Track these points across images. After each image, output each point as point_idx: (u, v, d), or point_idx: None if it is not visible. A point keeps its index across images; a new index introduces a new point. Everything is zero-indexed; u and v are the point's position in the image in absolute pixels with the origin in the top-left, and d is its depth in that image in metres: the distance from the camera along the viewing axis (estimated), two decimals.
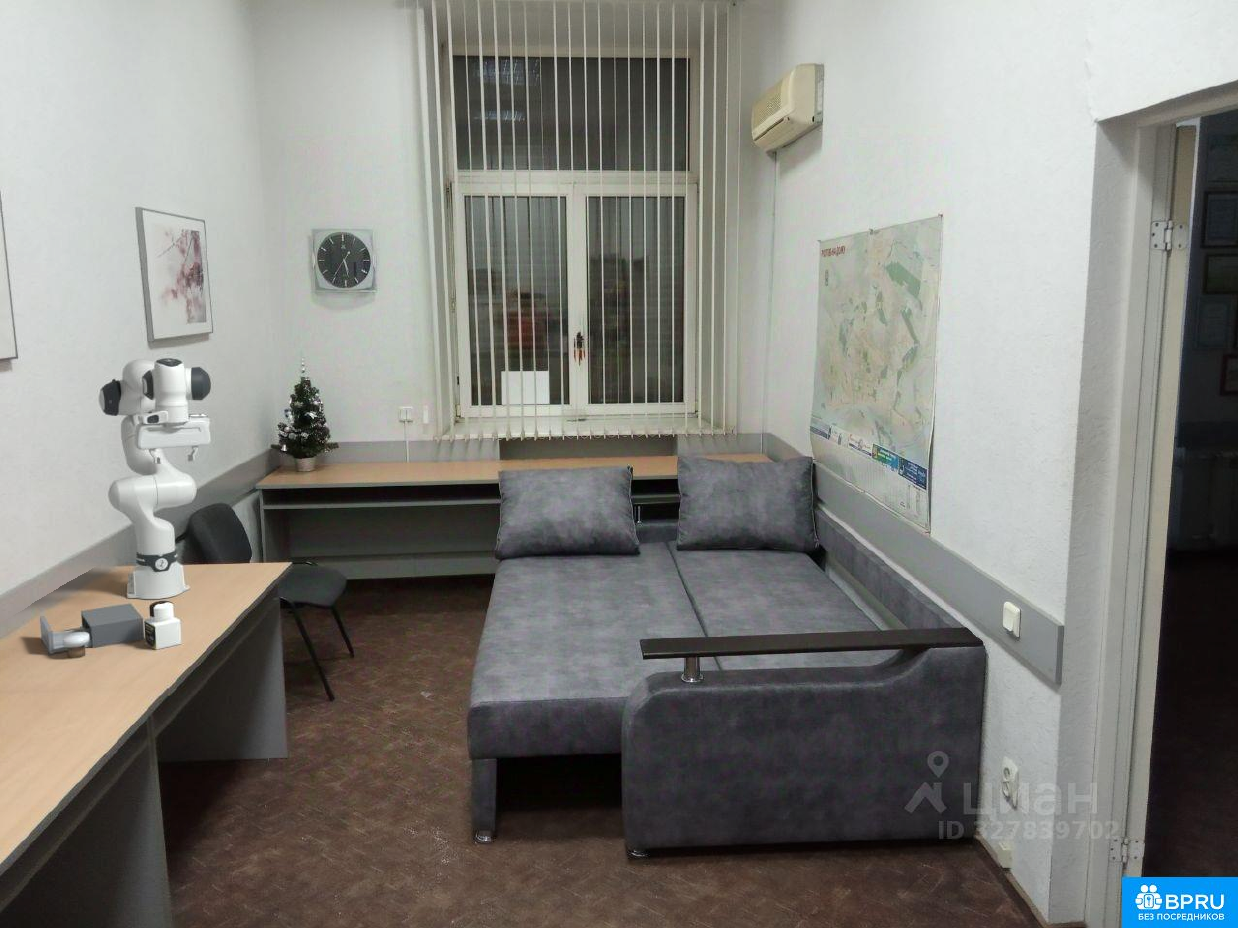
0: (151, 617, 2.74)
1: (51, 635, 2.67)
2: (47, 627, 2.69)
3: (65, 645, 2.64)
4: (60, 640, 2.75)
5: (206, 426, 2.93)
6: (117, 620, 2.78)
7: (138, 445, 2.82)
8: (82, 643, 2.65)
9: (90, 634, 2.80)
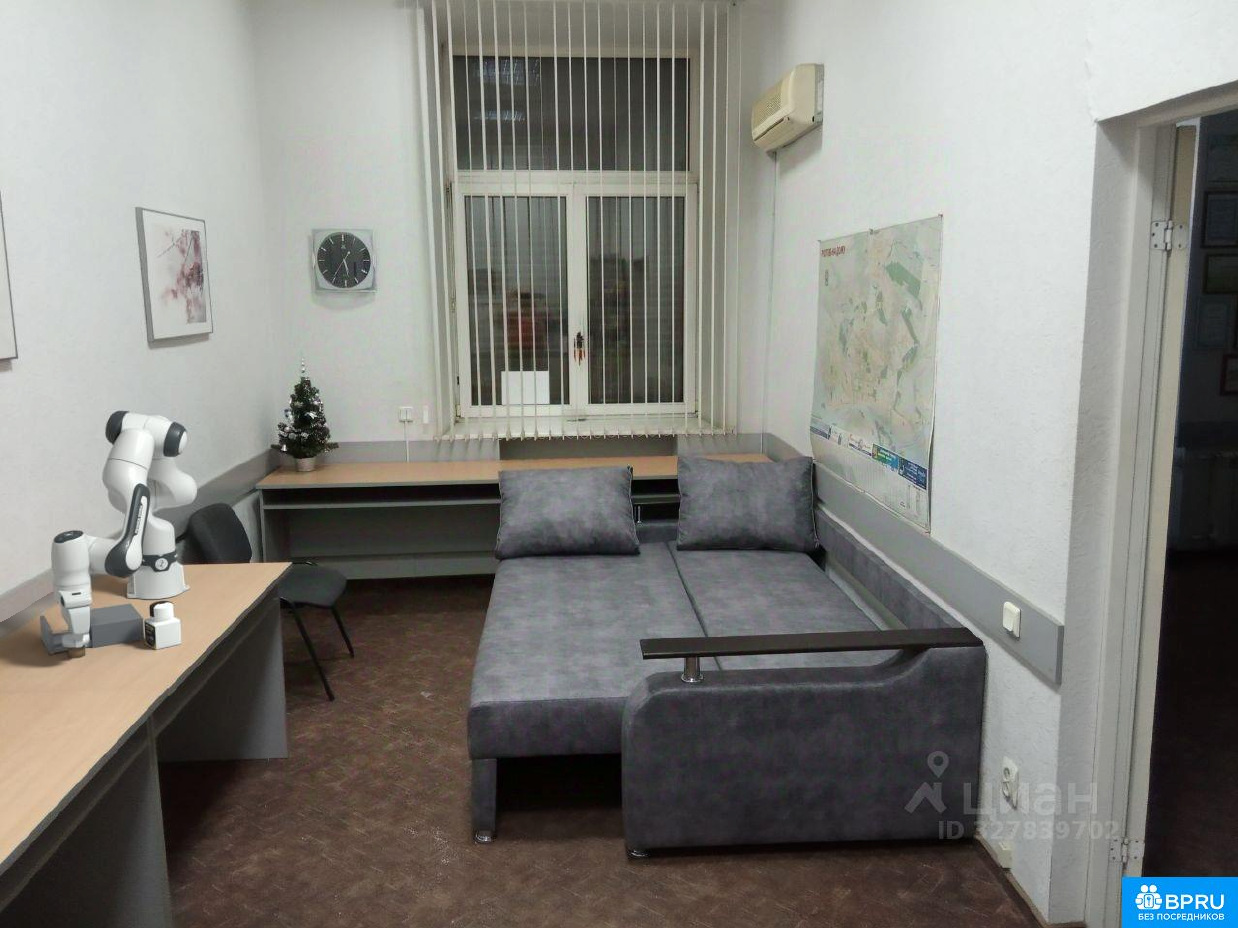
0: (151, 617, 2.74)
1: (51, 635, 2.67)
2: (47, 627, 2.69)
3: (65, 645, 2.64)
4: (60, 640, 2.75)
5: None
6: (117, 620, 2.78)
7: (88, 629, 2.59)
8: None
9: (90, 634, 2.80)
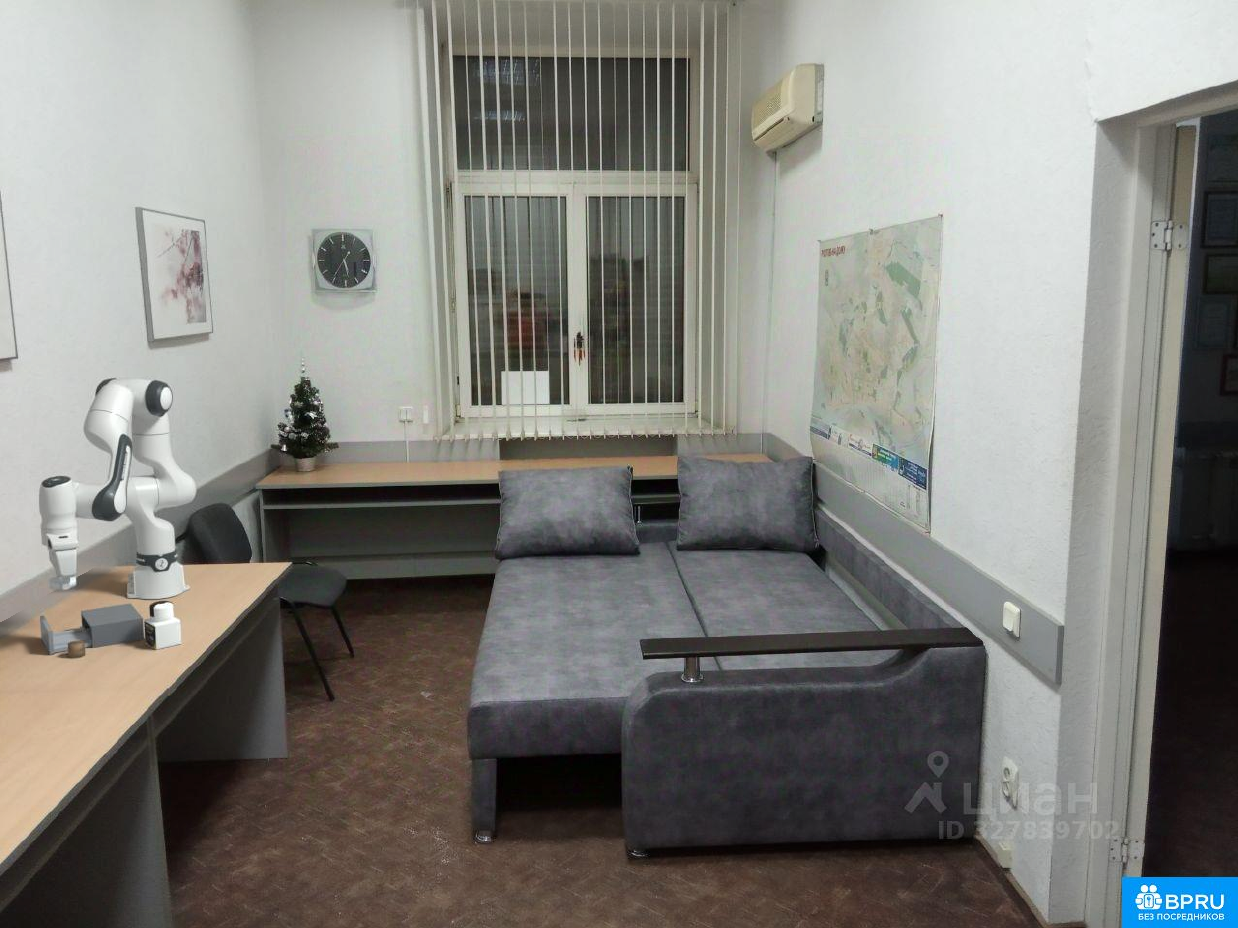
0: (151, 617, 2.74)
1: (51, 635, 2.67)
2: (47, 627, 2.69)
3: (52, 587, 2.71)
4: (60, 640, 2.75)
5: None
6: (117, 620, 2.78)
7: (75, 572, 2.66)
8: None
9: (90, 634, 2.80)
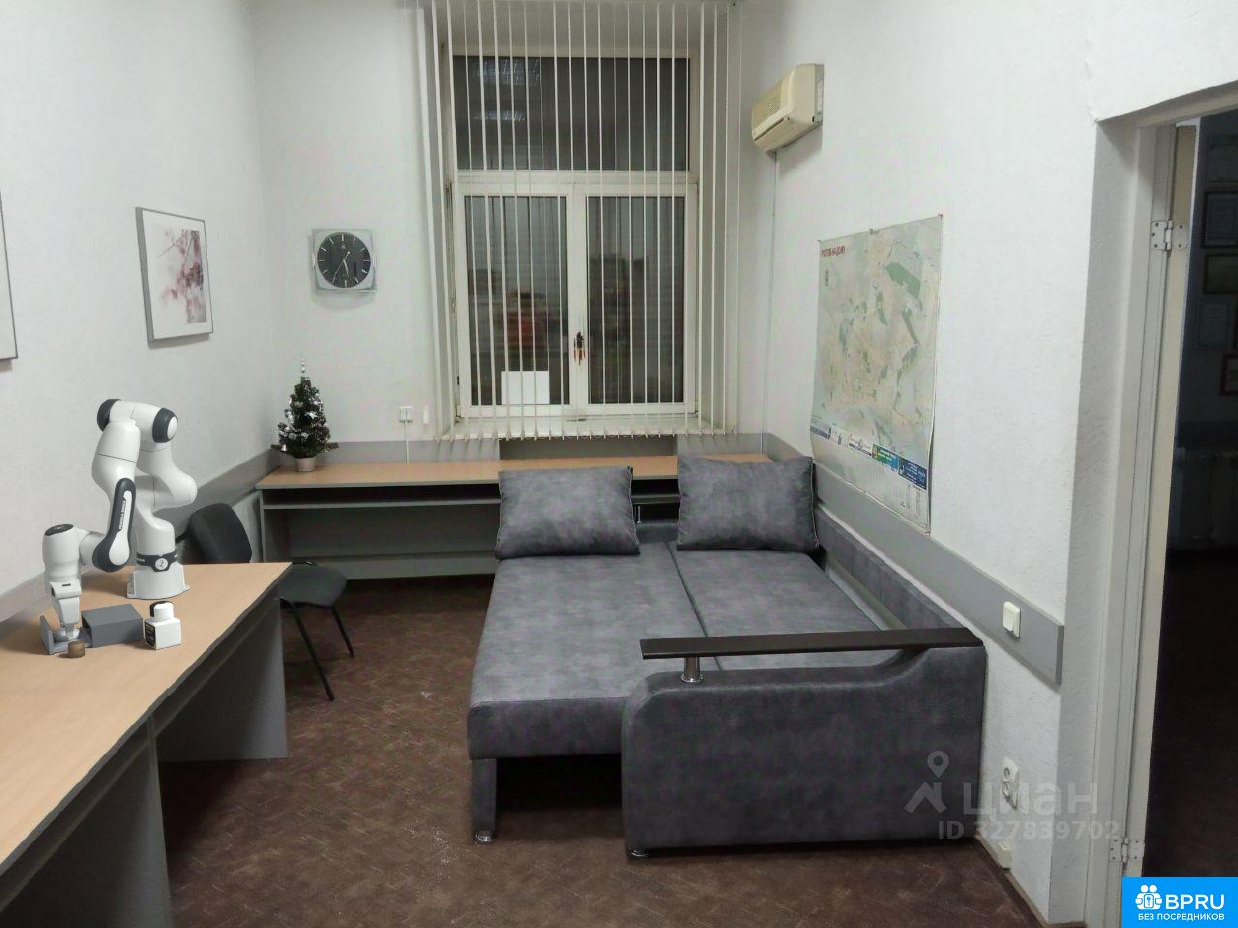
0: (151, 617, 2.74)
1: (51, 635, 2.67)
2: (47, 627, 2.69)
3: (56, 641, 2.73)
4: None
5: None
6: (117, 620, 2.78)
7: (78, 619, 2.69)
8: (72, 639, 2.75)
9: (90, 634, 2.80)
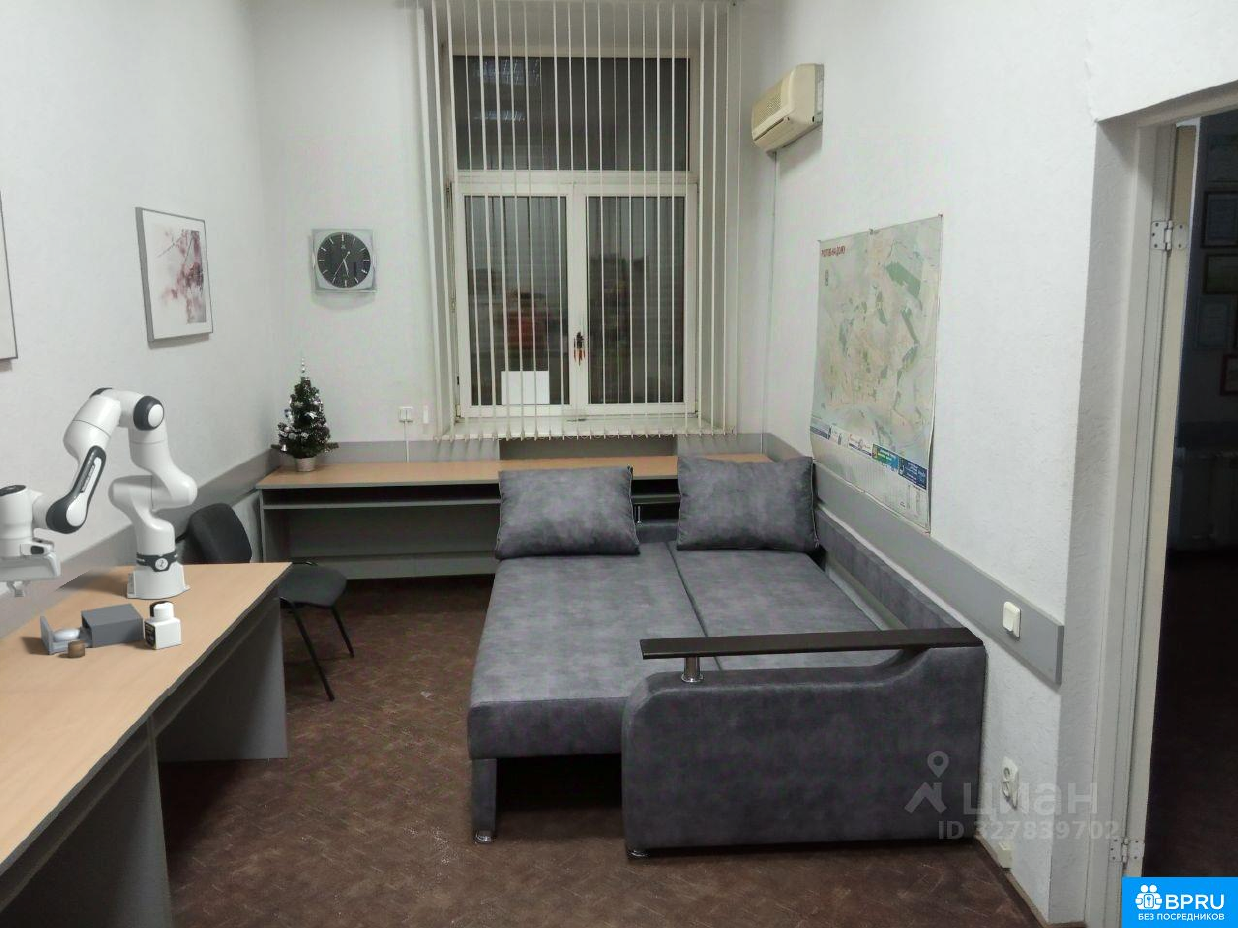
0: (151, 617, 2.74)
1: (51, 635, 2.67)
2: (47, 627, 2.69)
3: (56, 641, 2.73)
4: None
5: None
6: (117, 620, 2.78)
7: None
8: (72, 639, 2.74)
9: (90, 634, 2.80)
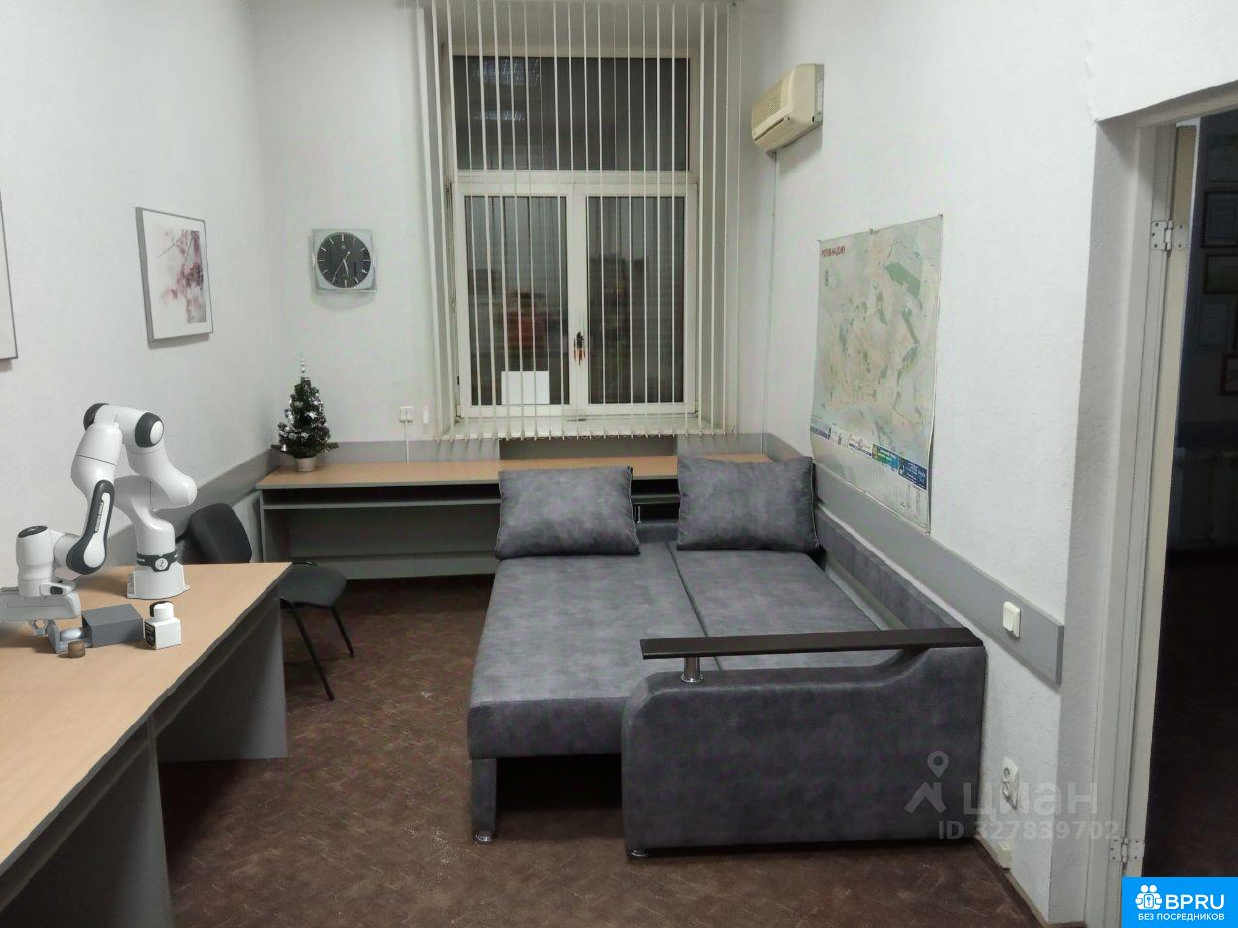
0: (151, 617, 2.74)
1: (58, 634, 2.68)
2: (54, 626, 2.70)
3: (62, 640, 2.74)
4: None
5: None
6: (117, 620, 2.78)
7: None
8: (78, 638, 2.75)
9: None
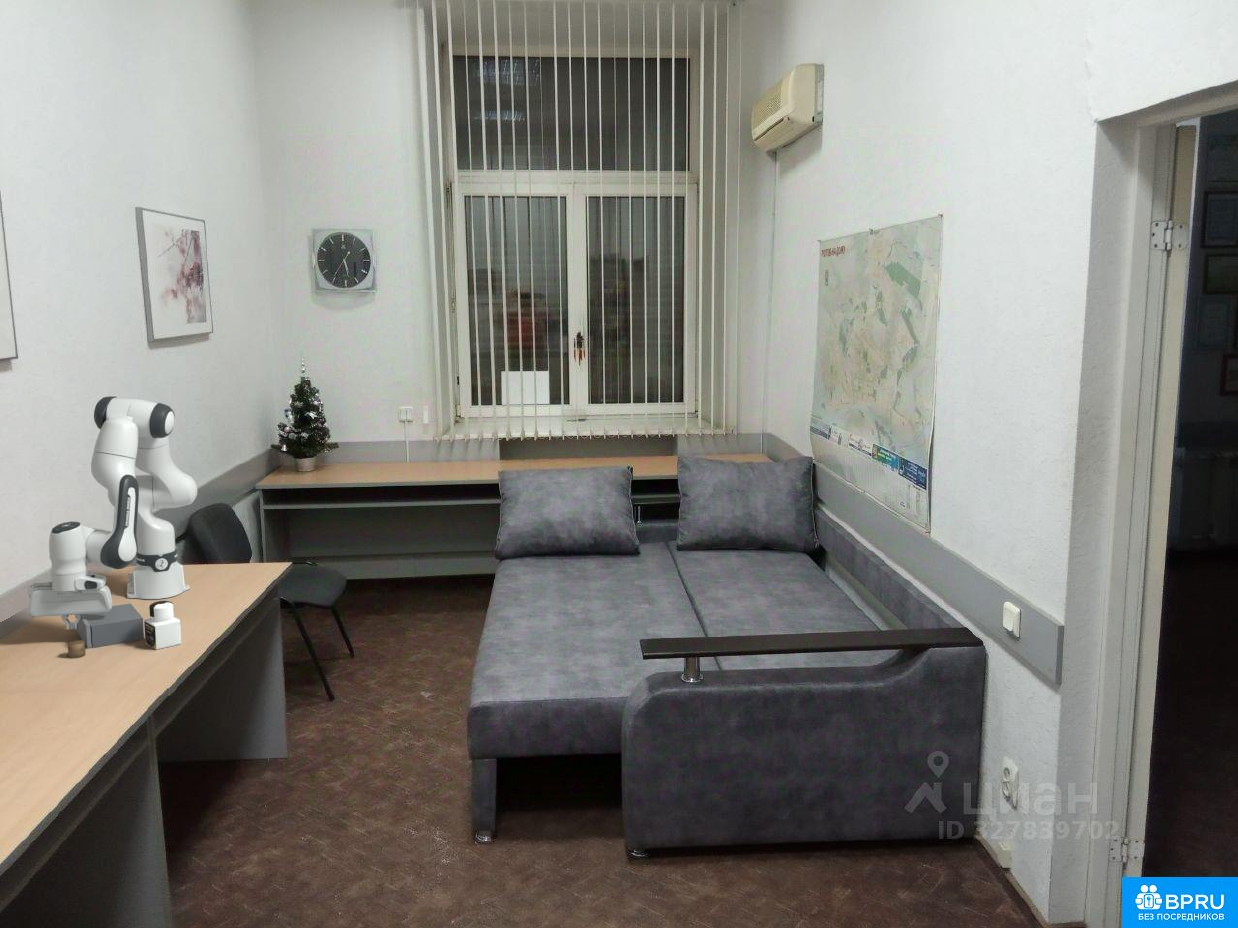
0: (151, 617, 2.74)
1: (89, 629, 2.72)
2: (84, 621, 2.75)
3: None
4: None
5: None
6: (117, 620, 2.78)
7: None
8: None
9: None
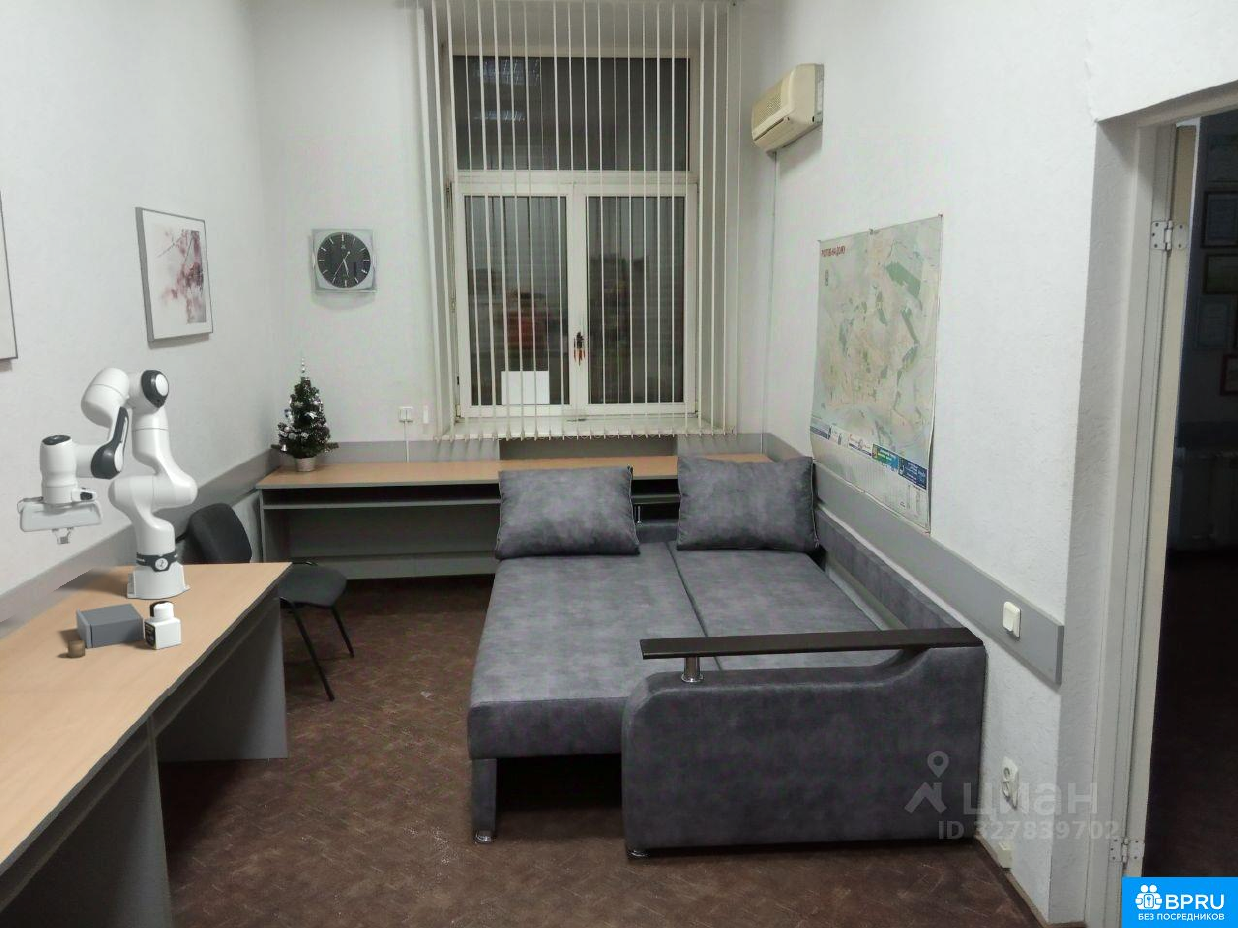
0: (151, 617, 2.74)
1: (89, 629, 2.72)
2: (84, 621, 2.75)
3: None
4: None
5: None
6: (117, 620, 2.78)
7: None
8: None
9: None
